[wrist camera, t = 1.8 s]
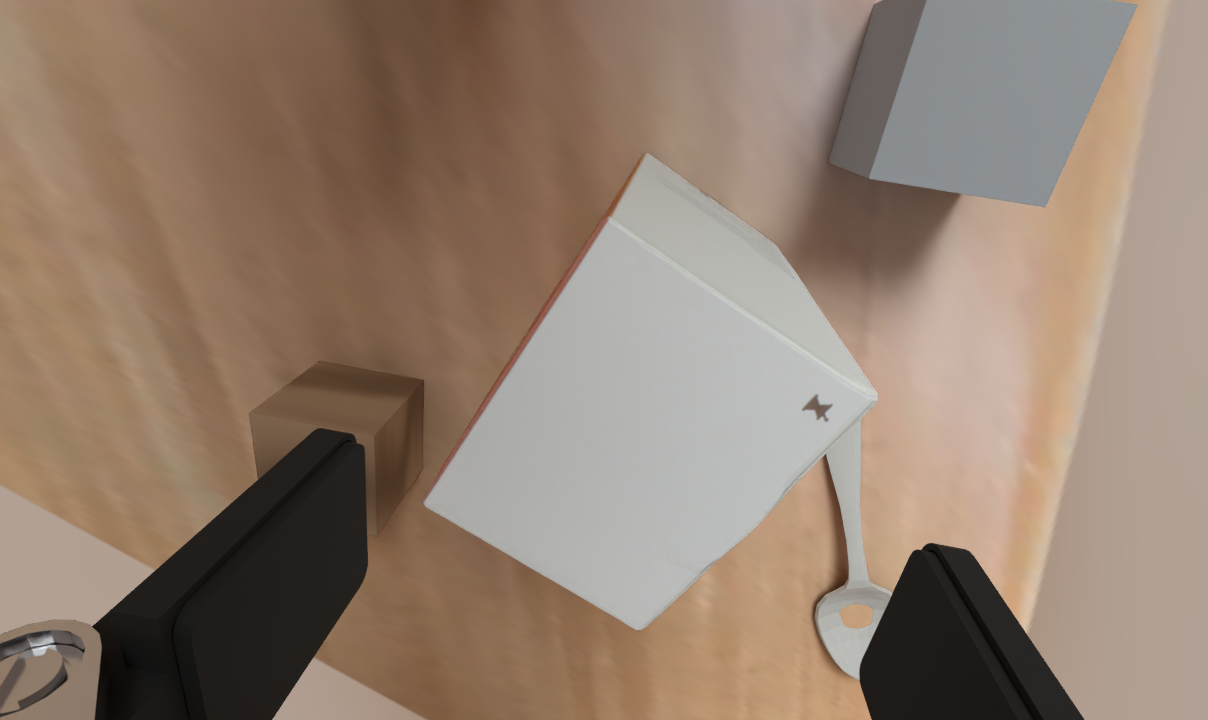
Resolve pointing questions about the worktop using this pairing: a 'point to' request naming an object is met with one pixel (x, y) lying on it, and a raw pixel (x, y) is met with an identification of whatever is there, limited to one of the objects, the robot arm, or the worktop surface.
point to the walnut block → (350, 427)
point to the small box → (653, 404)
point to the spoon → (858, 589)
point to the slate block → (976, 92)
